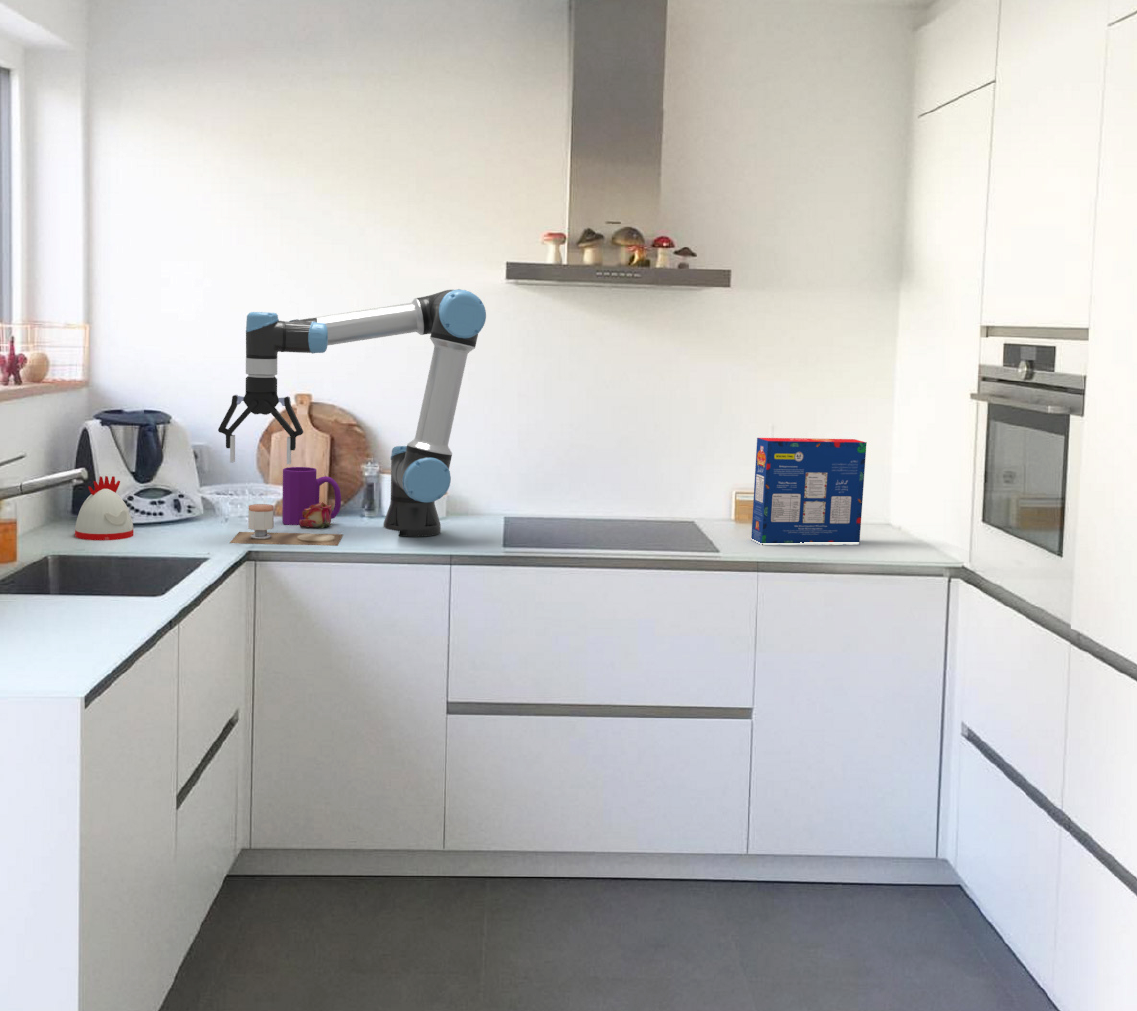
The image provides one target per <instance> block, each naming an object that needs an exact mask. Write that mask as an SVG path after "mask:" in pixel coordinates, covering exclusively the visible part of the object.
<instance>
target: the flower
mask: <svg viewBox="0 0 1137 1011" xmlns="http://www.w3.org/2000/svg"><path fill="white" fill-rule="evenodd" d="M332 506H333V505H332V504H330V505H329V504H326V503H324V502H319V503H318V504H316V505H311V506H310V507H309V509H304V511H302V514H303V517H304V518H305V519H304V520H300V521H299V523H300V525H298V526H299V528H301V527H305V528H317V529H318V528H320V529H324V528H325V527H328V528H329V527H331V526H332V525H333V523H331V522H332V519H331V513H332V511H333V509H332Z"/></svg>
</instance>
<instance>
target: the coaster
mask: <svg viewBox="0 0 1137 1011" xmlns="http://www.w3.org/2000/svg"><path fill="white" fill-rule="evenodd" d="M328 534H329V533H311V534H303V535H299V536H298V540H300V541H304V542H329V541H333V540H335V537H334V536H333V535H328Z"/></svg>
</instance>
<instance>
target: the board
mask: <svg viewBox="0 0 1137 1011" xmlns="http://www.w3.org/2000/svg"><path fill="white" fill-rule="evenodd" d="M253 534H255V531H239V532H237V533H236V535H235V536H234V537H233V538H232V539H231V540H230V542H229V544H248V545H249V544H250V545H251V544H253V545H254V544H255V545H288V546H290V545H293V546H295V545H296V546H332V547H334V546H335V547H337V546H339V544H340V542H341V540H342V538H343V536H344V534H341V533H327V534H328V535H333V536H334V537H335V540H333V541H329V542H304V541H300V540H298V536H299V535H303V534H312V533H311V532H309V533H306V532H305V533H304V532H303V533H301V532H299V533H298V532H268V531H267V534H269V535H271V539H266V540H256V539H251V535H253Z"/></svg>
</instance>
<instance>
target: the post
mask: <svg viewBox="0 0 1137 1011" xmlns="http://www.w3.org/2000/svg"><path fill="white" fill-rule="evenodd" d="M254 532H255V534H253V535H251V539H256V540H266V539H271V535H269V534H267V532H268V530H254Z"/></svg>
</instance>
